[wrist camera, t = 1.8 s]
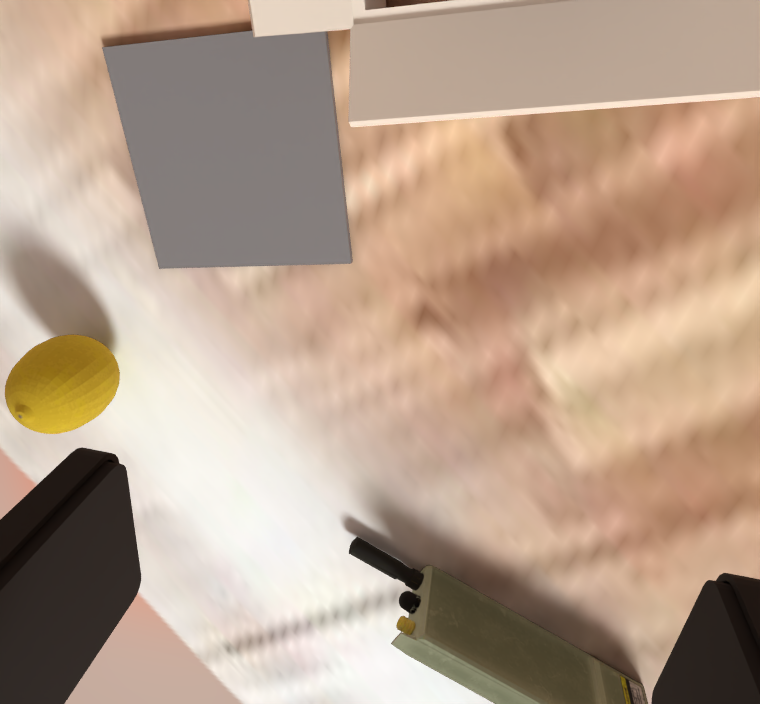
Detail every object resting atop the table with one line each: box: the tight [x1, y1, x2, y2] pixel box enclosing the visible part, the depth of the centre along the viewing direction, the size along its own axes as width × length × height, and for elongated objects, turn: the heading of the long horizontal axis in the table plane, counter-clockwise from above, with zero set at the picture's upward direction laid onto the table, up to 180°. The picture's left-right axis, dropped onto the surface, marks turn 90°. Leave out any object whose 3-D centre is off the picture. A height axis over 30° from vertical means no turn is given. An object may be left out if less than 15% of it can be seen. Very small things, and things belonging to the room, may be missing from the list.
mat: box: [102, 31, 353, 269], centre depth 33 cm, size 12×12×1 cm
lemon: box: [5, 335, 120, 434], centre depth 37 cm, size 6×6×8 cm
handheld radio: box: [349, 537, 648, 704], centre depth 42 cm, size 7×3×25 cm
